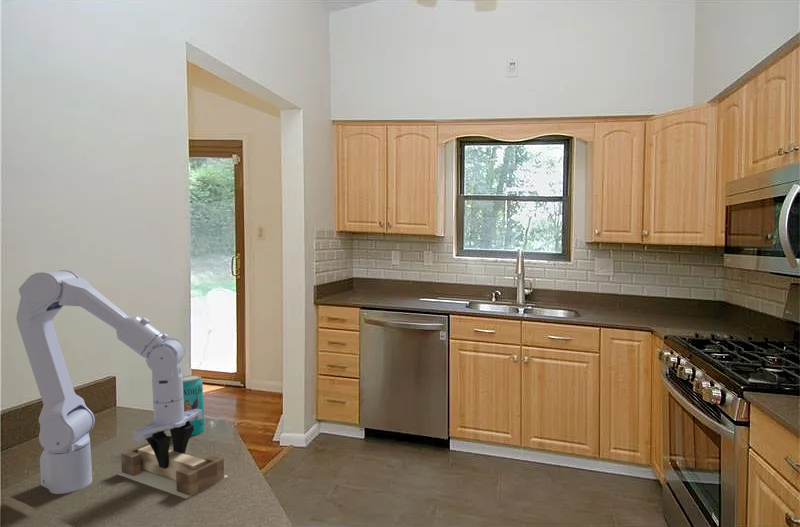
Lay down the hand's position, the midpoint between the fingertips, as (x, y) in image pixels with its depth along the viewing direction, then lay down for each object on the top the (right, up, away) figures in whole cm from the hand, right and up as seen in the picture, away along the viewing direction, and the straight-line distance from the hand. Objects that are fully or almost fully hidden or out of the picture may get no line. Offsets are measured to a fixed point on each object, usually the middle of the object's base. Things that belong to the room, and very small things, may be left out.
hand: (171, 463), depth 103 cm
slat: (0, -2, 0) cm, 2 cm away
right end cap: (+8, -2, -4) cm, 9 cm away
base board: (0, -3, 0) cm, 3 cm away
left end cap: (-8, -2, +5) cm, 9 cm away
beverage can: (-6, -3, +24) cm, 25 cm away
